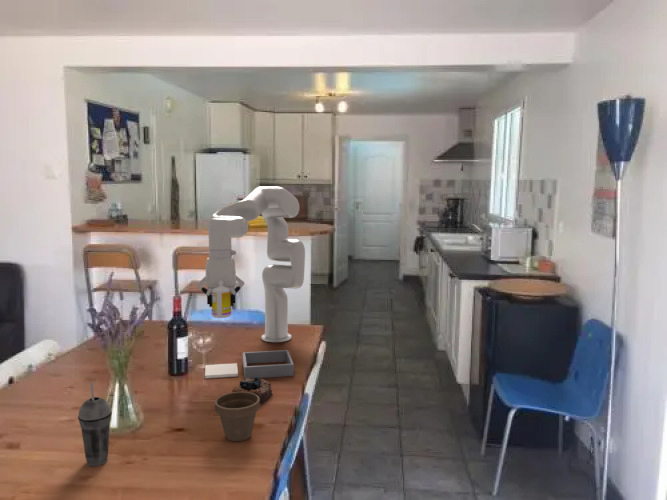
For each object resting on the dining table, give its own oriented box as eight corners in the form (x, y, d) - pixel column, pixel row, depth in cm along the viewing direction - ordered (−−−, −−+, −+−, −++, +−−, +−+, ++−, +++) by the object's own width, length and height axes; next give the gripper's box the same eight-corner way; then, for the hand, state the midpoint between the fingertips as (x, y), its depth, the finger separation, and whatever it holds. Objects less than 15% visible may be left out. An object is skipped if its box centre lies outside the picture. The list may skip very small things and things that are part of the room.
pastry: (275, 392, 175) (275, 375, 174) (261, 407, 163) (261, 388, 162) (243, 389, 178) (243, 371, 177) (227, 403, 166) (226, 384, 165)
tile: (205, 367, 197) (205, 365, 197) (237, 365, 199) (236, 363, 199) (204, 378, 186) (204, 375, 186) (238, 376, 189) (237, 373, 188)
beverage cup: (118, 454, 134) (114, 374, 132) (107, 469, 127) (103, 385, 125) (87, 454, 134) (83, 374, 132) (74, 469, 127) (70, 385, 124)
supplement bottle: (233, 314, 194) (233, 277, 192) (228, 318, 187) (227, 281, 185) (215, 313, 194) (214, 277, 193) (209, 318, 188) (208, 280, 186)
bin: (242, 363, 202) (242, 352, 202) (288, 360, 206) (287, 350, 205) (244, 378, 186) (244, 367, 186) (293, 375, 190) (293, 364, 189)
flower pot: (217, 449, 137) (216, 410, 136) (213, 429, 148) (213, 393, 147) (263, 443, 140) (263, 405, 139) (256, 424, 151) (256, 389, 150)
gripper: (245, 252, 193) (246, 302, 196) (194, 253, 190) (195, 304, 192) (246, 255, 186) (247, 307, 188) (193, 256, 183) (194, 309, 185)
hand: (221, 305), depth 190 cm, fingers closed on supplement bottle, 6 cm apart
